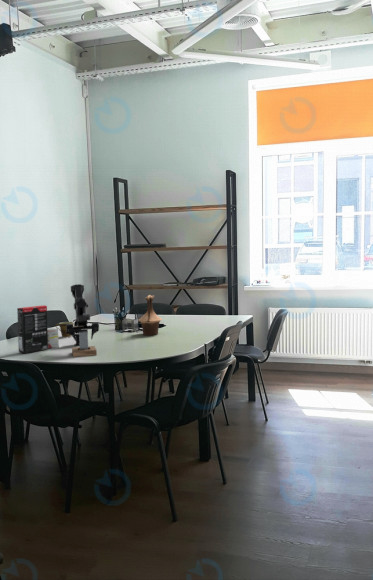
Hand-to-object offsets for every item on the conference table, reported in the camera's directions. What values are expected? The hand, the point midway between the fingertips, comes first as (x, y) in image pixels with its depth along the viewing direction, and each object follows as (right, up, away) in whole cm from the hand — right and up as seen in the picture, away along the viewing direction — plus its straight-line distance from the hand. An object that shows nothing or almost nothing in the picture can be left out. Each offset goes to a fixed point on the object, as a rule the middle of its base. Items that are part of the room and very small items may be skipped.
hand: (83, 339), depth 287 cm
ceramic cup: (-27, -5, +65) cm, 70 cm away
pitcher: (+34, -3, +66) cm, 74 cm away
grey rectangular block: (0, -8, +2) cm, 9 cm away
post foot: (0, -8, +2) cm, 9 cm away
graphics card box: (-33, -9, +15) cm, 37 cm away
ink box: (-26, -8, +27) cm, 38 cm away
